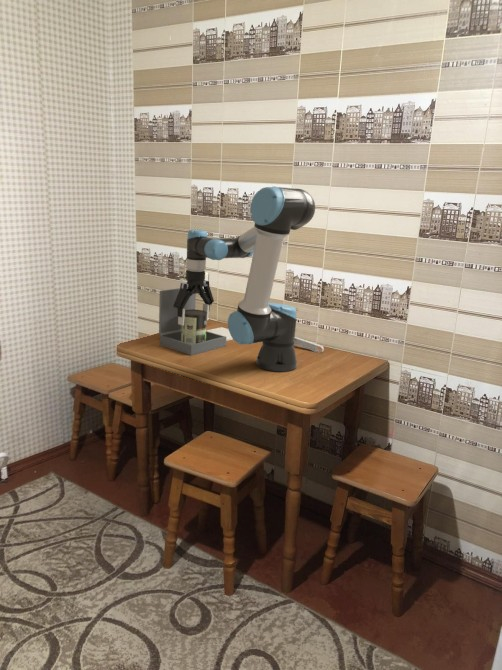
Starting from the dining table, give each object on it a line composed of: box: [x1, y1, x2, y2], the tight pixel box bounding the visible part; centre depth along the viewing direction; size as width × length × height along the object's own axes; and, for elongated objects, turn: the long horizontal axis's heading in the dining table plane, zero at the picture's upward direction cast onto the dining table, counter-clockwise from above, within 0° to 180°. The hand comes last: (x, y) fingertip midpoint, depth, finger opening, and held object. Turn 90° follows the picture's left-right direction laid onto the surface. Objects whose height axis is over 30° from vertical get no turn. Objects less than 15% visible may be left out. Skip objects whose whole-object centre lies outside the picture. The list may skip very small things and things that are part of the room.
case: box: [158, 287, 227, 356], centre depth 214 cm, size 19×20×22 cm
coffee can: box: [181, 309, 208, 345], centre depth 215 cm, size 10×10×14 cm
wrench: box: [294, 336, 325, 354], centre depth 224 cm, size 8×2×30 cm
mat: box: [206, 326, 234, 342], centre depth 235 cm, size 16×16×1 cm
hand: (193, 322), depth 214 cm, fingers open, 13 cm apart
